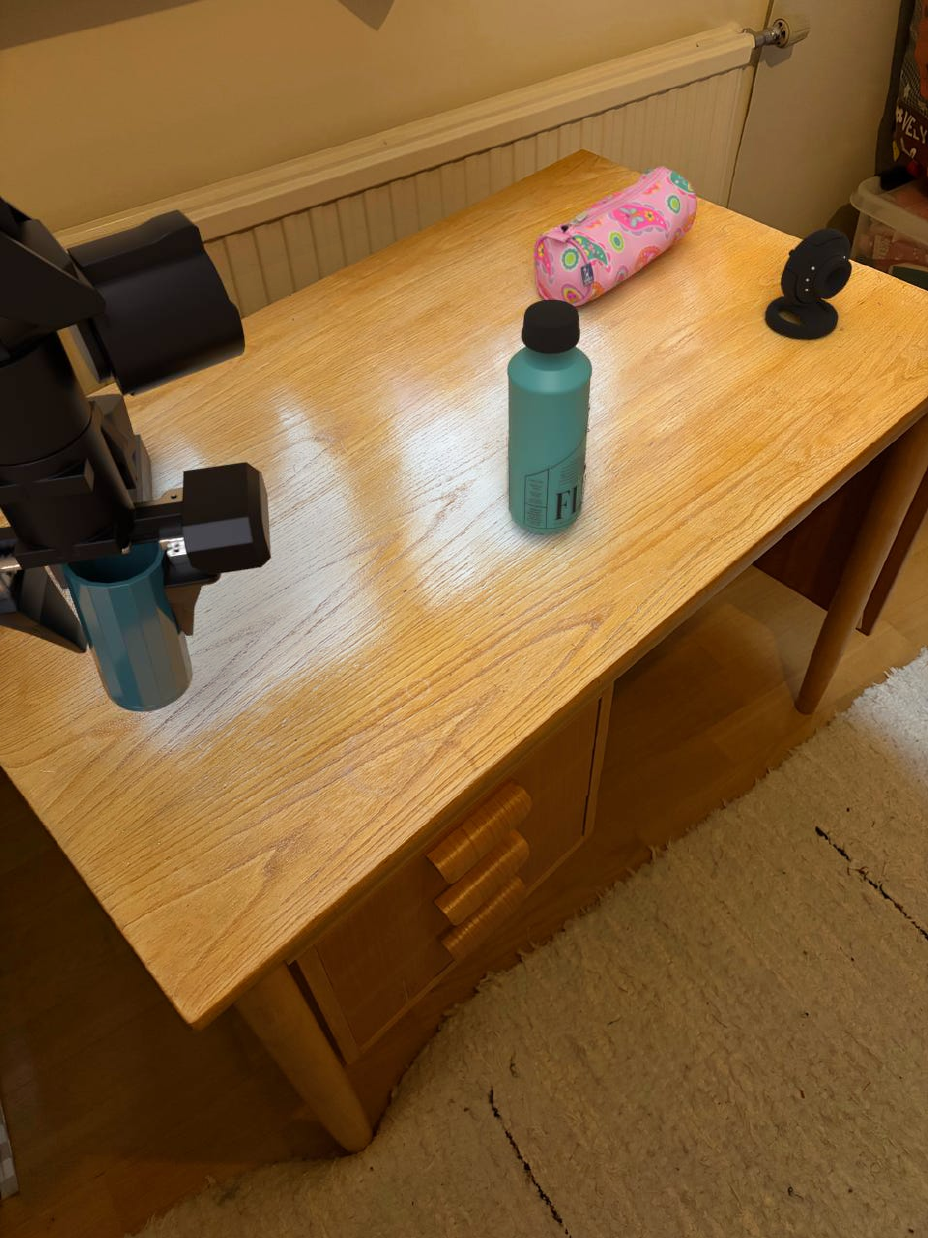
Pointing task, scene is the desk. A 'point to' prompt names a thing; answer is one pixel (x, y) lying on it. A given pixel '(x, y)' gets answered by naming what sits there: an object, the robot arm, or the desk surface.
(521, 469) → the beverage bottle
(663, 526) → the desk surface
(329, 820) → the desk surface
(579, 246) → the pencil case
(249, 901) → the desk surface
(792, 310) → the webcam
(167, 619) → the cup
